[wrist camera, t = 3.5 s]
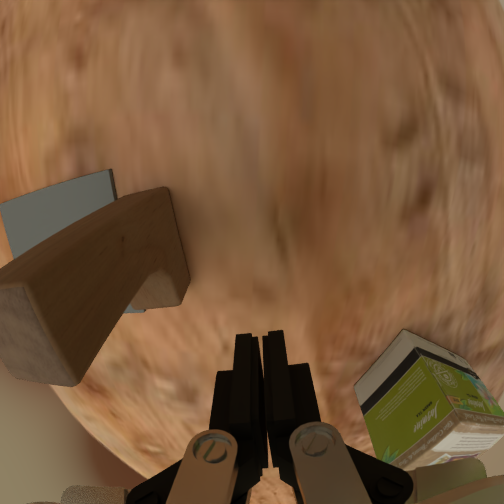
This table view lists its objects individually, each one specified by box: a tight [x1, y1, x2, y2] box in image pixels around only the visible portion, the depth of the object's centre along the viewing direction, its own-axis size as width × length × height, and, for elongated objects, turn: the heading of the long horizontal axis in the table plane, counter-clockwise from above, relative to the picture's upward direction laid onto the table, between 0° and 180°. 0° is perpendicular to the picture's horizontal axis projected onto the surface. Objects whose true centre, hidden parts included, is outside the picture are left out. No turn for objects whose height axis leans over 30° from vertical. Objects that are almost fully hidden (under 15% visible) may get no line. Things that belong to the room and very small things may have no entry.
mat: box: [0, 169, 146, 313], centre depth 26 cm, size 16×14×1 cm
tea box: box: [354, 330, 504, 471], centre depth 25 cm, size 15×10×15 cm, turn 63°
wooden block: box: [0, 187, 190, 387], centre depth 17 cm, size 9×4×18 cm, turn 9°
